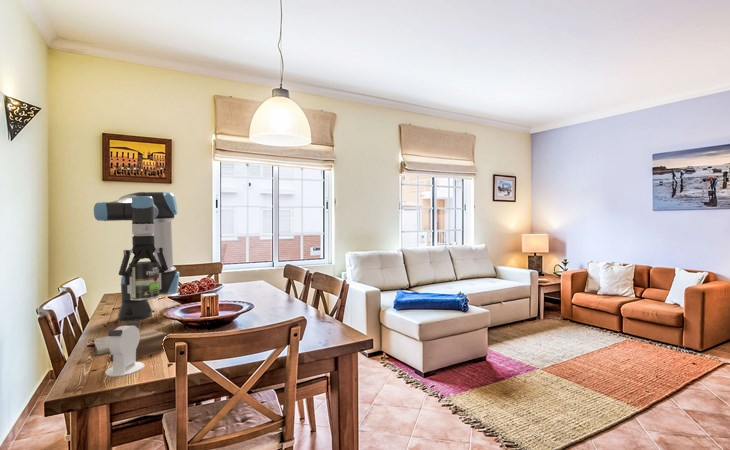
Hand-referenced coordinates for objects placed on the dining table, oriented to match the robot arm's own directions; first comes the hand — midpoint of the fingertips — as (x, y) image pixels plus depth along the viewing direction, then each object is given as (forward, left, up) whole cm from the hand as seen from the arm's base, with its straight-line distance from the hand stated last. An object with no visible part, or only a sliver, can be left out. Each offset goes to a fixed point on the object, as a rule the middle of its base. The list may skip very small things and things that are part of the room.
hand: (144, 291), depth 148 cm
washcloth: (-14, -7, -23) cm, 28 cm away
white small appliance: (+16, -14, -23) cm, 31 cm away
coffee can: (0, 0, -3) cm, 3 cm away
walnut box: (+2, -2, -23) cm, 23 cm away
